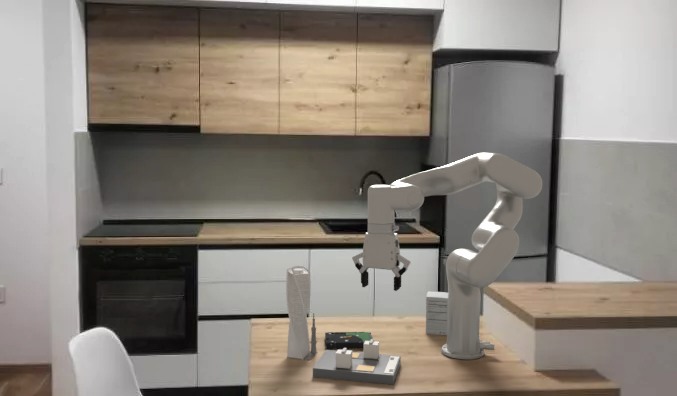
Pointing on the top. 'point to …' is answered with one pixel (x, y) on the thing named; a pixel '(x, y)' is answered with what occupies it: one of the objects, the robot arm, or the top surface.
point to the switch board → (359, 368)
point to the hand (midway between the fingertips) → (380, 287)
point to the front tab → (344, 358)
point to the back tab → (371, 349)
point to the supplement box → (436, 313)
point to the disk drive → (346, 340)
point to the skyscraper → (299, 314)
